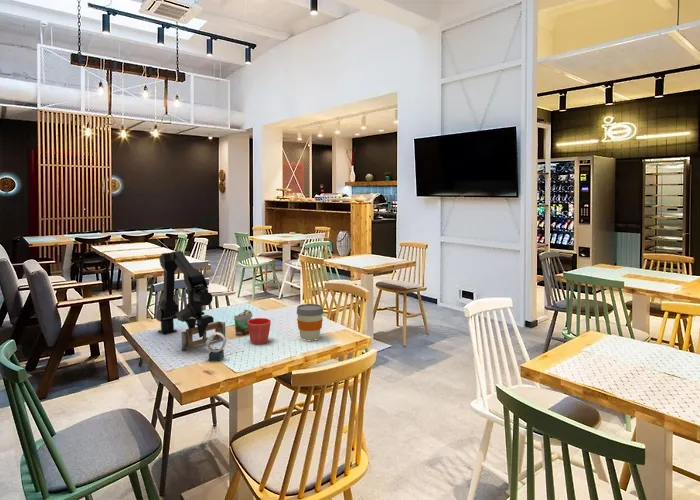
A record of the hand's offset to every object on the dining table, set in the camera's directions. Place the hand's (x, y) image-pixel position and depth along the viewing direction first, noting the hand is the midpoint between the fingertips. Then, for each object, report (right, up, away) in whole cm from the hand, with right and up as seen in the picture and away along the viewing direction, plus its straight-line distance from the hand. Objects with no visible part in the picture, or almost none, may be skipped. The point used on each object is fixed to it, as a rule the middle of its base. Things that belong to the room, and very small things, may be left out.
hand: (196, 335), depth 203 cm
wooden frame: (+3, -4, +4) cm, 6 cm away
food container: (+17, -3, +21) cm, 28 cm away
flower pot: (+26, -4, +9) cm, 28 cm away
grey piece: (+3, -5, +4) cm, 6 cm away
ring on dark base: (+13, -7, -14) cm, 20 cm away
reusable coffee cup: (+49, -4, +15) cm, 51 cm away
